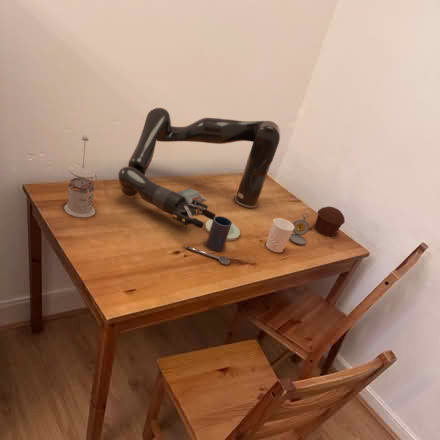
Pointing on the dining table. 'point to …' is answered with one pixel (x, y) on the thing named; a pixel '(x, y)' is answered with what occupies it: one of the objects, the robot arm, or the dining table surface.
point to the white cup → (279, 234)
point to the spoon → (221, 259)
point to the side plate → (233, 231)
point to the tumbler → (218, 233)
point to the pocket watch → (296, 237)
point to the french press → (81, 190)
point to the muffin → (329, 221)
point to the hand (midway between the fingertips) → (208, 221)
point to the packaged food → (192, 195)
